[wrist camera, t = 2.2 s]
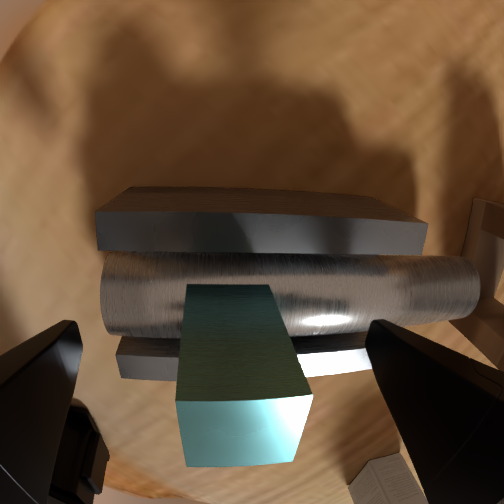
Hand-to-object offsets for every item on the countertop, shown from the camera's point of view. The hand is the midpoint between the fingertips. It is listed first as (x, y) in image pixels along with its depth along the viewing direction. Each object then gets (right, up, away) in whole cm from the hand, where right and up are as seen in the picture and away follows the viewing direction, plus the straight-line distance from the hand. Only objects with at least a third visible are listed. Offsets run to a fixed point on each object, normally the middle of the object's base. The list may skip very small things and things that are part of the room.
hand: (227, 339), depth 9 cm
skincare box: (+14, -20, +16) cm, 29 cm away
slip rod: (+3, +1, +4) cm, 5 cm away
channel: (+1, +2, +6) cm, 6 cm away
